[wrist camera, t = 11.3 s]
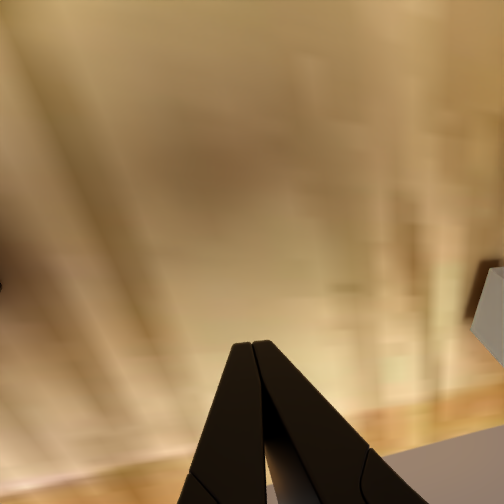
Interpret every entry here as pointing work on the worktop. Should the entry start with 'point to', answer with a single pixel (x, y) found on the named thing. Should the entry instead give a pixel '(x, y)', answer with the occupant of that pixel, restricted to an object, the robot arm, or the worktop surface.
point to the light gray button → (491, 314)
